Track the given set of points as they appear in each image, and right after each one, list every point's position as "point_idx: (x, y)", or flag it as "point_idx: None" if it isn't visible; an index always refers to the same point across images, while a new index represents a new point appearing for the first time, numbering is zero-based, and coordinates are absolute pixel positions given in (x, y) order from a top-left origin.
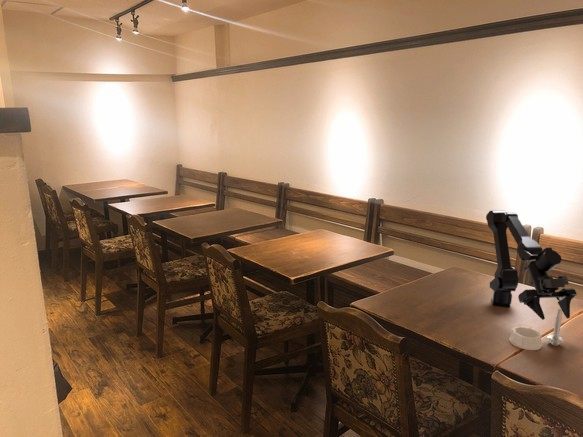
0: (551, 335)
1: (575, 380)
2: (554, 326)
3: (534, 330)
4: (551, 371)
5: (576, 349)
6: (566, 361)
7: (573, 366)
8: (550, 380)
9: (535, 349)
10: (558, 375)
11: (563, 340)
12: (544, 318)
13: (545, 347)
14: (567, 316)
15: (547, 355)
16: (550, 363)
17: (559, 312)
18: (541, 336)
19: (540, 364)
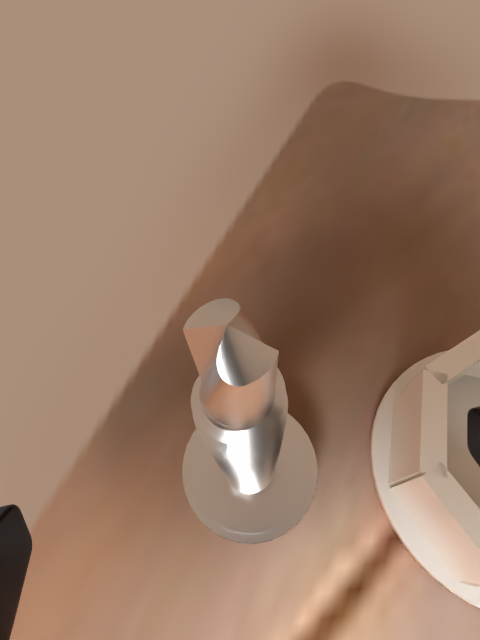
0: (269, 511)
1: (309, 118)
2: (268, 468)
3: (473, 508)
4: (397, 161)
5: (120, 403)
6: (275, 250)
7: (261, 210)
8: (423, 106)
9: (438, 353)
10: (373, 139)
11: (193, 433)
12: (476, 409)
13: (346, 408)
14: (10, 545)
15: (368, 301)
16: (379, 222)
17: (254, 328)
18: (425, 370)
19: (439, 208)
